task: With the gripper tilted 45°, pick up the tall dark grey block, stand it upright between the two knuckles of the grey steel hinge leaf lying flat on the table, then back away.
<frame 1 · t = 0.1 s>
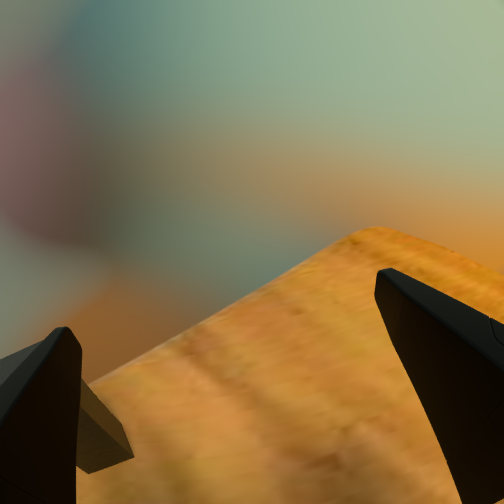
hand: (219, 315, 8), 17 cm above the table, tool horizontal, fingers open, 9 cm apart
dark grey block: (104, 449, 20), on the table
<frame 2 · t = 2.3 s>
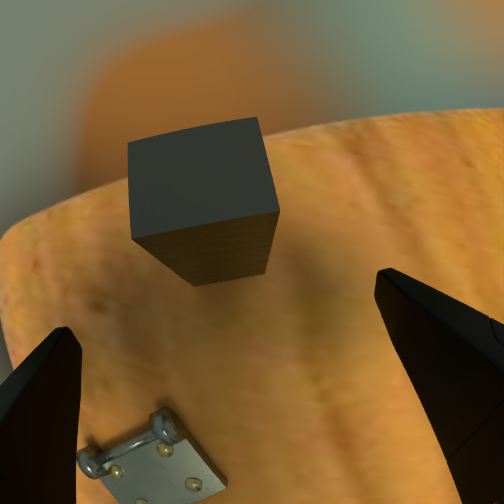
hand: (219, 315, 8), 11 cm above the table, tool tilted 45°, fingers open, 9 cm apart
dark grey block: (224, 253, 20), on the table
fixed hinge leaf: (111, 407, 18), on the table
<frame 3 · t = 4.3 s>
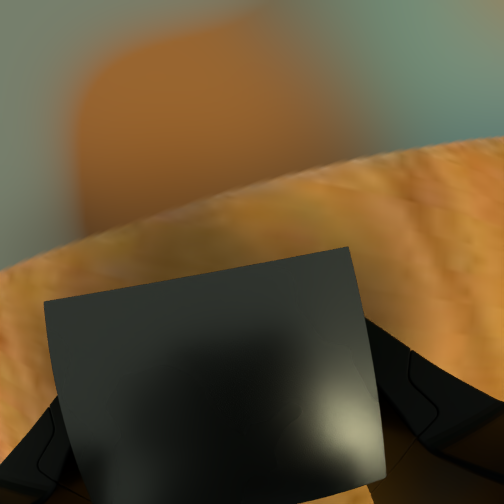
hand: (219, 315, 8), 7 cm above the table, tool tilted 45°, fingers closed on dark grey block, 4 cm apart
dark grey block: (238, 348, 14), on the table, touching gripper
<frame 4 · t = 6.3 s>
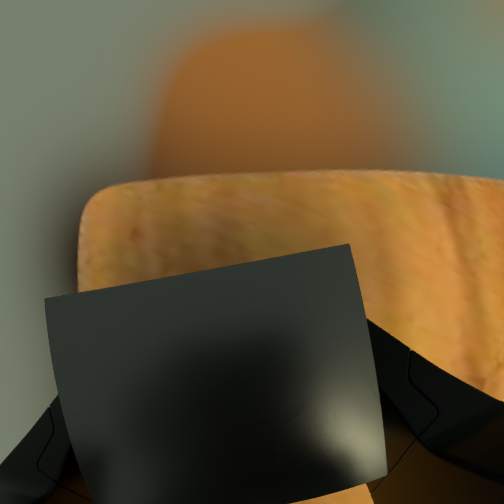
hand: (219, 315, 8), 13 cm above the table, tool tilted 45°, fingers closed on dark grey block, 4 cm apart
dark grey block: (238, 347, 14), point 7 cm above the table, touching gripper
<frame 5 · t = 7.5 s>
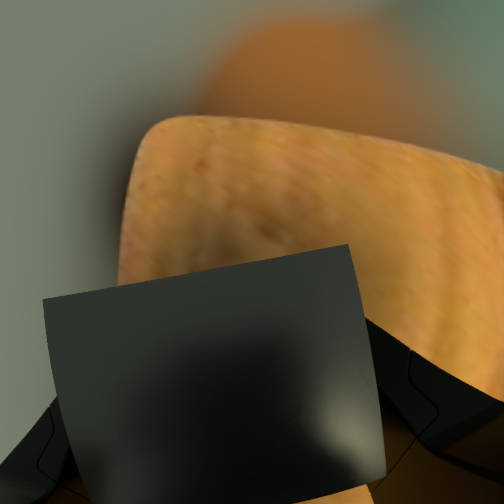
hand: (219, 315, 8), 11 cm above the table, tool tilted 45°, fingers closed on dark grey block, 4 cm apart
dark grey block: (238, 348, 14), point 4 cm above the table, touching gripper
when the fingers open (7 cm above the table, at t = 8.6 s): dark grey block stays where it is, on the table.
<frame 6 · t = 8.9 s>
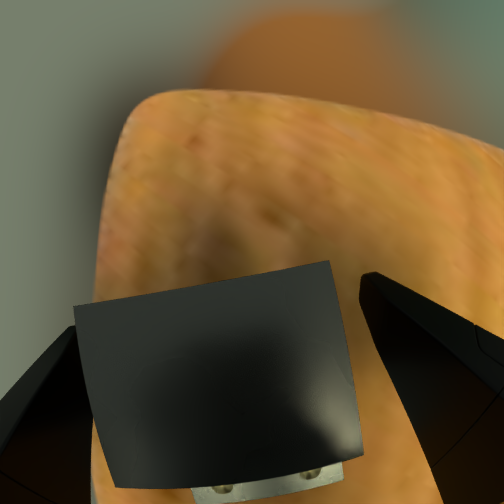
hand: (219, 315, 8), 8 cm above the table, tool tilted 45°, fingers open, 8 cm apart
dark grey block: (238, 346, 15), on the table
fixed hinge leaf: (238, 347, 15), on the table
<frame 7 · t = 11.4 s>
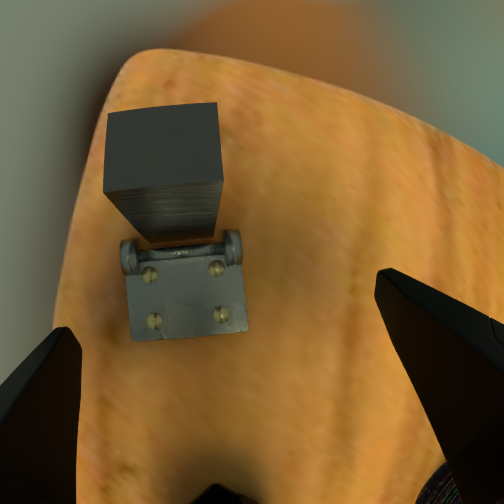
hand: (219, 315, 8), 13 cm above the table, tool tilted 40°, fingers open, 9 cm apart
storage jar: (446, 488, 22), on the table
dark grey block: (179, 216, 22), on the table
fixed hinge leaf: (179, 216, 22), on the table
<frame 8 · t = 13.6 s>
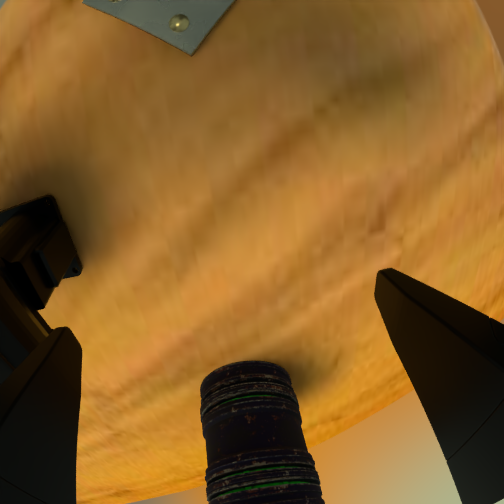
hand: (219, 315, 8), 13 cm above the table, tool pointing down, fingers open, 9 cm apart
storage jar: (245, 387, 32), on the table
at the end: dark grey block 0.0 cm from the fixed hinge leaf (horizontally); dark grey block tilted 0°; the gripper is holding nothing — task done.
